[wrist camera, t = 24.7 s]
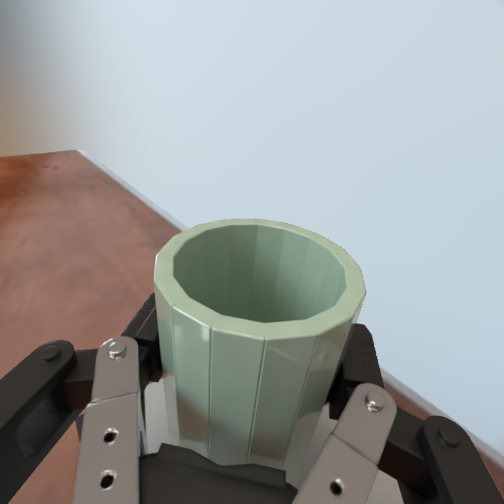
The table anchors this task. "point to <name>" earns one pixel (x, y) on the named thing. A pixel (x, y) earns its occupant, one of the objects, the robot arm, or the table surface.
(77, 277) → the table surface
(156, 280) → the cup
